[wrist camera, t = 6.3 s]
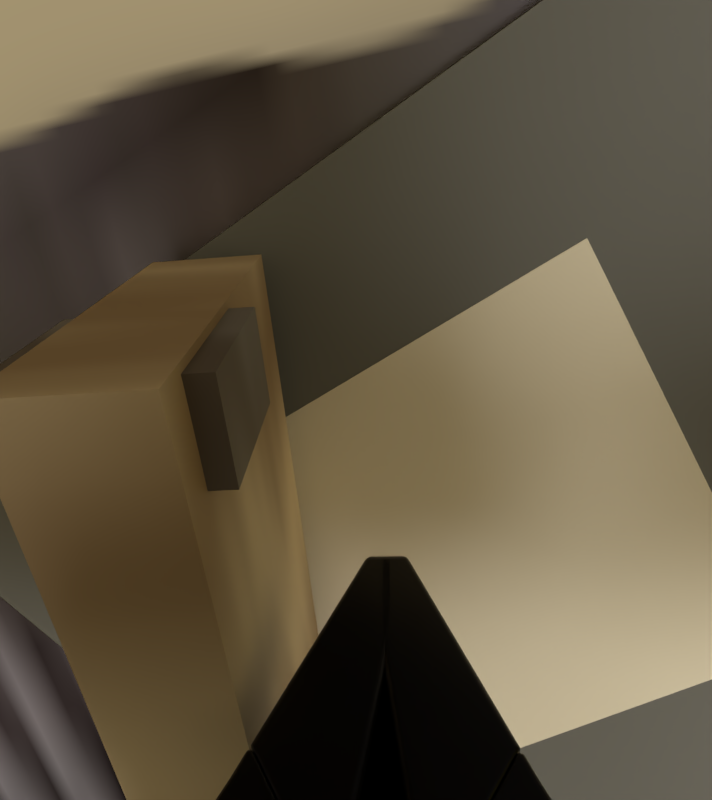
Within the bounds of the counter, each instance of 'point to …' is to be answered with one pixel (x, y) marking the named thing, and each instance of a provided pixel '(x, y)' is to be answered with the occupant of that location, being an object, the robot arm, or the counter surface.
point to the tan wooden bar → (163, 517)
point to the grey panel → (518, 379)
